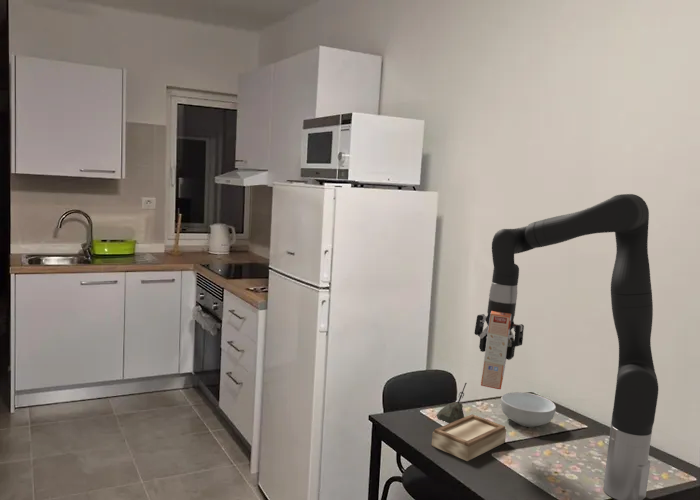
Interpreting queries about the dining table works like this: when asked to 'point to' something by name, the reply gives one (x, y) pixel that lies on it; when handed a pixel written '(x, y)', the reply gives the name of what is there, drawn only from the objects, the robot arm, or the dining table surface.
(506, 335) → the cracker box
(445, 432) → the wooden box
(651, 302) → the robot arm
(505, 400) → the cereal bowl
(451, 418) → the sword in stone
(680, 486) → the dining table surface
